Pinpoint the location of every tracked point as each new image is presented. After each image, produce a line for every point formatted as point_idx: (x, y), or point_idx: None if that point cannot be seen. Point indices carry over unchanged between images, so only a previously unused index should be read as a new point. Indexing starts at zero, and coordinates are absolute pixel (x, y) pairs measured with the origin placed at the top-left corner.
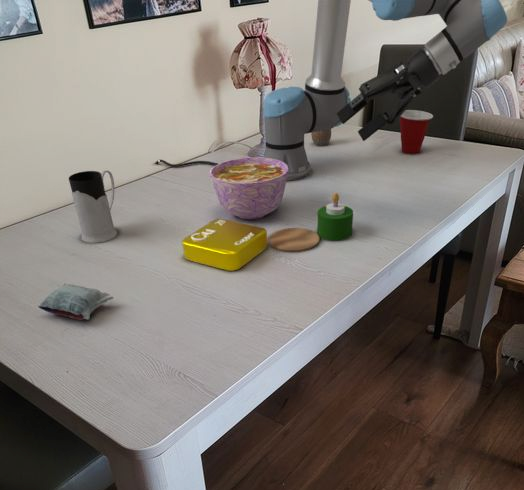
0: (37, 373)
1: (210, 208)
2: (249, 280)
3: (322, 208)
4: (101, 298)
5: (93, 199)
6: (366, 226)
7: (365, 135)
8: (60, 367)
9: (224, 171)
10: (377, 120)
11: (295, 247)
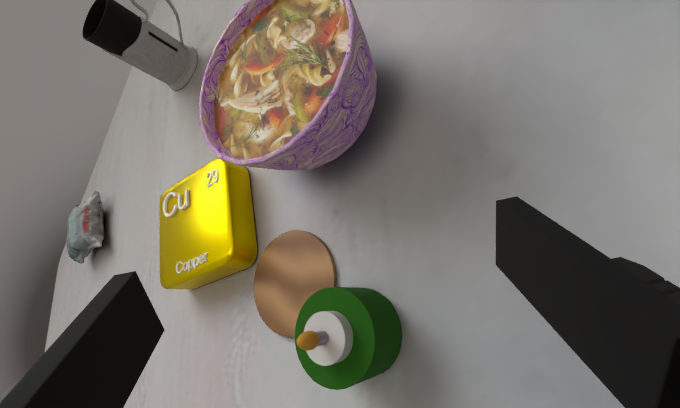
0: (56, 295)
1: None
2: (183, 326)
3: (328, 293)
4: (91, 244)
5: (117, 56)
6: (447, 378)
7: (512, 267)
8: (62, 302)
9: (264, 20)
10: (608, 328)
11: (268, 312)
